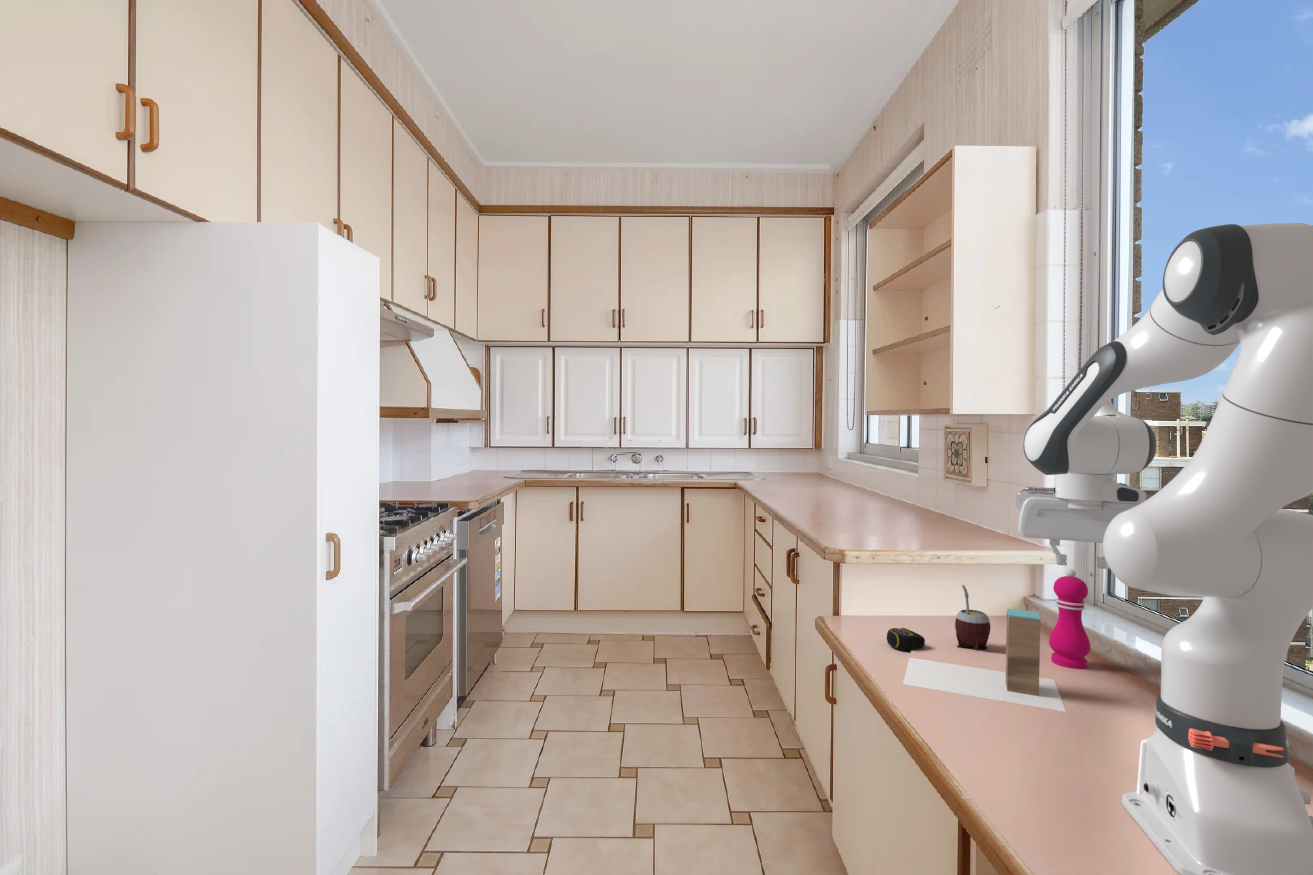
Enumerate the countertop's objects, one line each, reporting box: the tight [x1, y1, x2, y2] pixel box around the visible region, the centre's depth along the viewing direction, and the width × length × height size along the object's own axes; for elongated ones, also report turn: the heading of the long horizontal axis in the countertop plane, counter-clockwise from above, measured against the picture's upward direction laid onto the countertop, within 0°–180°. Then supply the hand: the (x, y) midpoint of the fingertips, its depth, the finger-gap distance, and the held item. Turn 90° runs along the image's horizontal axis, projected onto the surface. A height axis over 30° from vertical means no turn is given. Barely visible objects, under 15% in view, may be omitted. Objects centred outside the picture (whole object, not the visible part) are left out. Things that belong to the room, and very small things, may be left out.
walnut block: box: [1005, 607, 1041, 696], centre depth 119 cm, size 5×5×14 cm
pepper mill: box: [1048, 568, 1091, 670], centre depth 132 cm, size 7×7×20 cm
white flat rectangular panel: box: [902, 657, 1067, 713], centre depth 122 cm, size 16×26×1 cm, turn 65°
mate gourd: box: [954, 584, 991, 652], centre depth 142 cm, size 8×8×15 cm
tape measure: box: [886, 627, 926, 651], centre depth 143 cm, size 7×7×4 cm
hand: (1081, 566), depth 115 cm, fingers open, 5 cm apart
